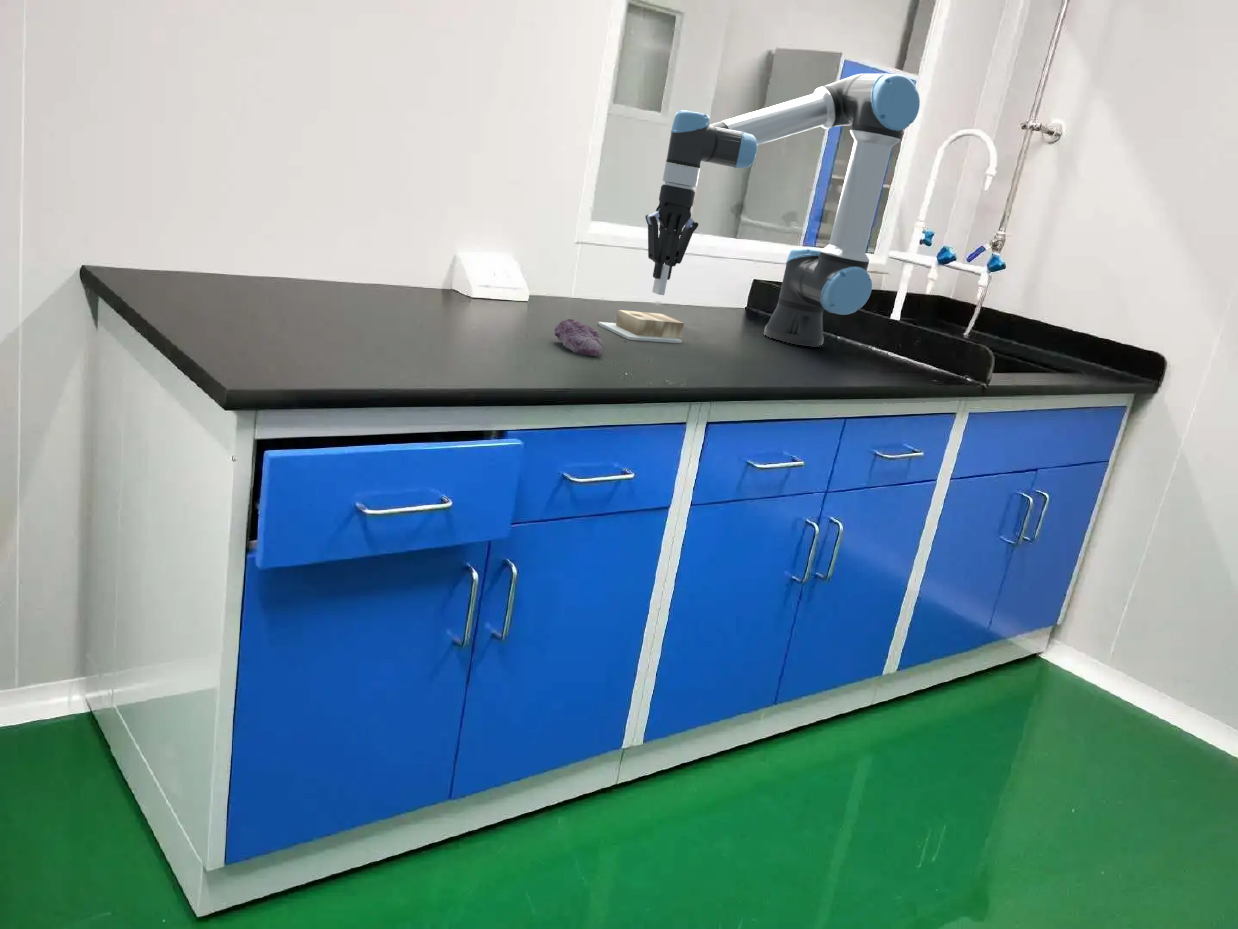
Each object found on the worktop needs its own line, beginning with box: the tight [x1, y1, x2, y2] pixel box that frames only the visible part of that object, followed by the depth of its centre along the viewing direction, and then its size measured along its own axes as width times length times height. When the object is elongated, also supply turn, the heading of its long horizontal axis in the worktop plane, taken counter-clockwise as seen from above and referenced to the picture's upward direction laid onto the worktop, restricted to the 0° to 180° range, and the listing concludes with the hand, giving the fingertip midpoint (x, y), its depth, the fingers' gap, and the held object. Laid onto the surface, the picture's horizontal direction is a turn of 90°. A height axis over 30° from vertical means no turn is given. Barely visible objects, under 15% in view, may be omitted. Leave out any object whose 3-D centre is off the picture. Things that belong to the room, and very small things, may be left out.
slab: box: [615, 309, 685, 339], centre depth 228 cm, size 4×9×12 cm
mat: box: [597, 321, 683, 344], centre depth 227 cm, size 14×14×1 cm
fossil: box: [553, 318, 604, 358], centre depth 198 cm, size 8×14×5 cm, turn 29°
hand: (658, 293), depth 226 cm, fingers closed
